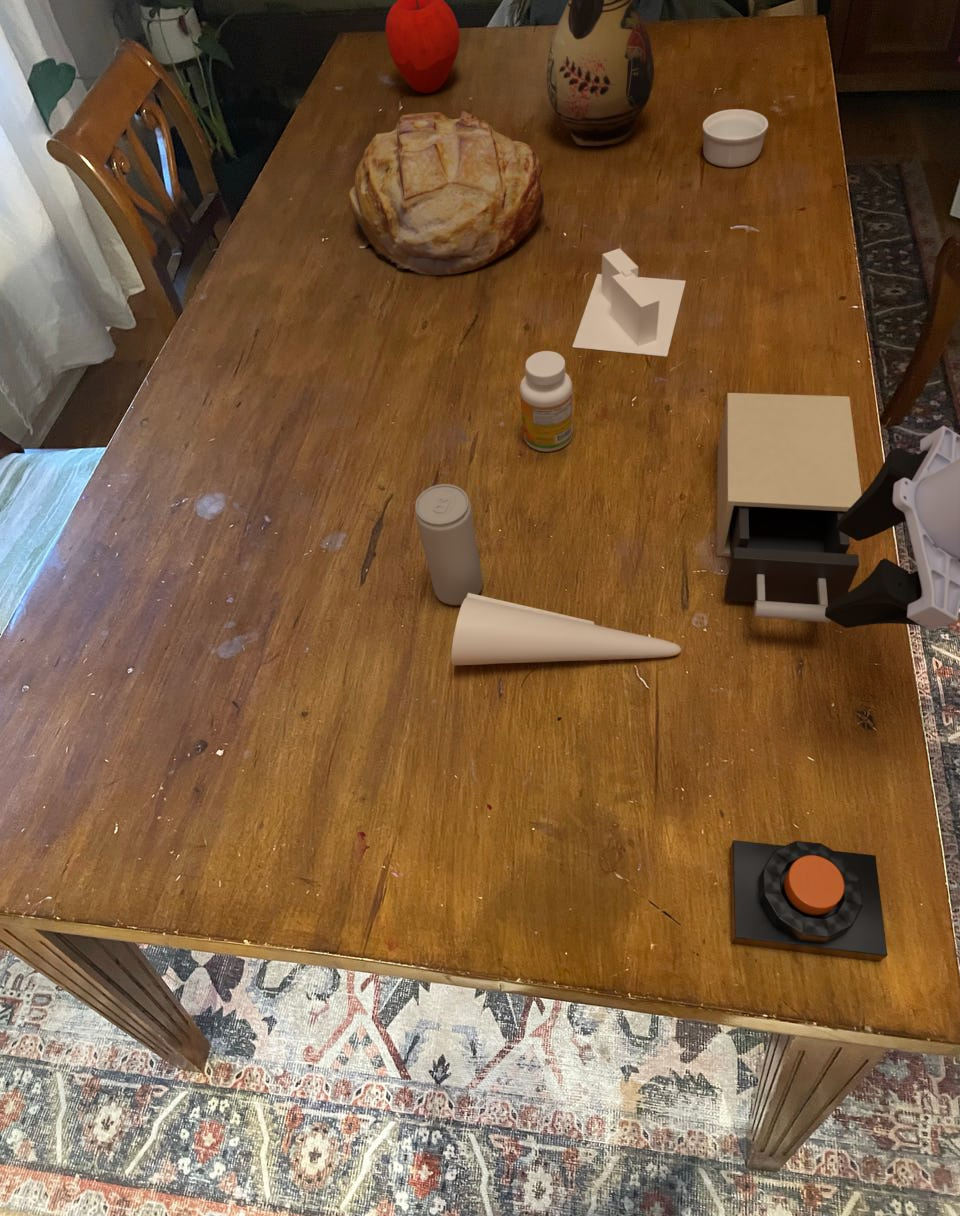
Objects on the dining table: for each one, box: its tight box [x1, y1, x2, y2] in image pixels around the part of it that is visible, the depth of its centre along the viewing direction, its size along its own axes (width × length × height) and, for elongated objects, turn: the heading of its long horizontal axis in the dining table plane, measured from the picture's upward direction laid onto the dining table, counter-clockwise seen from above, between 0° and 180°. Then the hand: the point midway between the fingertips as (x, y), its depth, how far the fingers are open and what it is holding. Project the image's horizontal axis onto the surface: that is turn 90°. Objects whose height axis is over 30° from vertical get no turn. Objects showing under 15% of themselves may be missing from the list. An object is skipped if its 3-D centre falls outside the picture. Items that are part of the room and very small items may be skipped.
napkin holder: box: [572, 248, 687, 357], centre depth 101 cm, size 15×11×6 cm
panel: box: [729, 839, 888, 963], centre depth 60 cm, size 10×7×4 cm
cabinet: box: [716, 392, 863, 558], centre depth 80 cm, size 14×11×8 cm
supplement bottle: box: [519, 350, 574, 453], centre depth 88 cm, size 5×5×10 cm
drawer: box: [723, 506, 860, 624], centre depth 76 cm, size 18×10×6 cm, turn 171°
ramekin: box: [702, 108, 769, 168], centre depth 120 cm, size 9×9×4 cm
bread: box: [348, 108, 545, 276], centre depth 113 cm, size 25×27×15 cm
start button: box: [784, 855, 844, 915], centre depth 58 cm, size 4×4×2 cm
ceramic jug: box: [546, 0, 655, 147], centre depth 117 cm, size 17×15×30 cm
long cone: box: [450, 593, 682, 666], centre depth 74 cm, size 6×6×19 cm
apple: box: [384, 0, 461, 94], centre depth 139 cm, size 12×12×13 cm
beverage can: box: [414, 483, 484, 606], centre depth 76 cm, size 5×5×12 cm
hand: (841, 573), depth 61 cm, fingers open, 7 cm apart
